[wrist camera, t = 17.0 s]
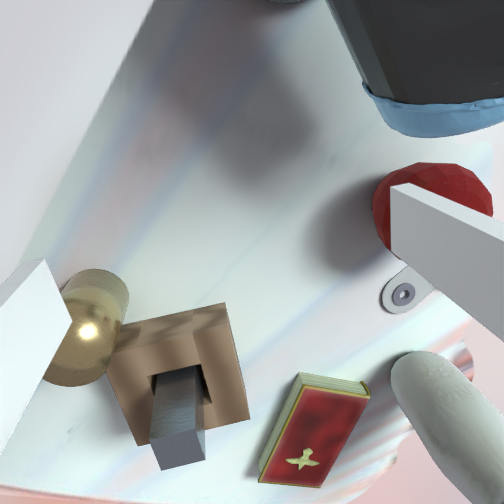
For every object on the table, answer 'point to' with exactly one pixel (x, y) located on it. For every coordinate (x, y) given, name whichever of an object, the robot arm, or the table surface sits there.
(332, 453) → the hardcover book
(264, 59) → the table surface
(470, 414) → the grey rounded tall shape
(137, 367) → the socket block
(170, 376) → the square bit
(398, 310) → the bracket
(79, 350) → the round bit
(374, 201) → the apple
